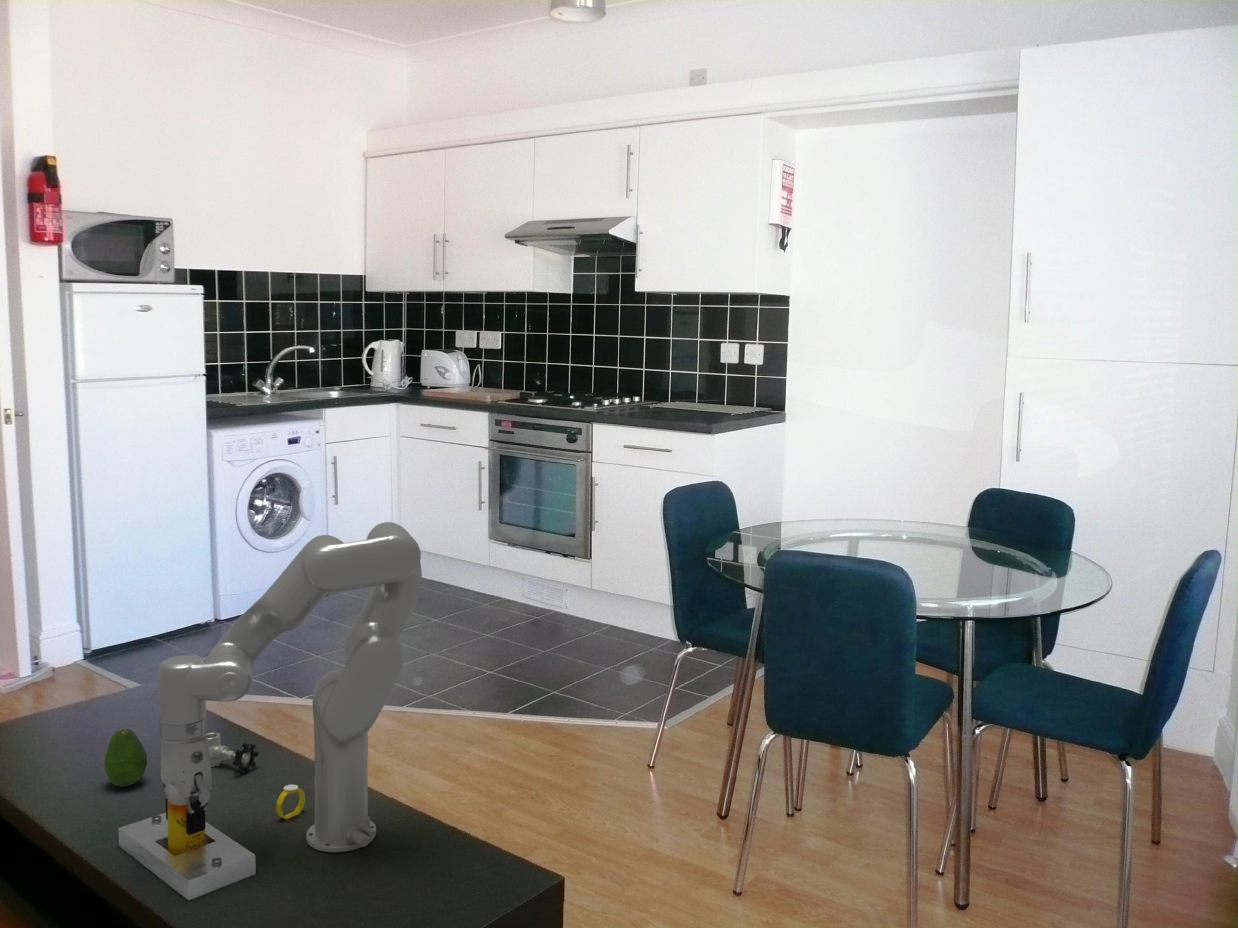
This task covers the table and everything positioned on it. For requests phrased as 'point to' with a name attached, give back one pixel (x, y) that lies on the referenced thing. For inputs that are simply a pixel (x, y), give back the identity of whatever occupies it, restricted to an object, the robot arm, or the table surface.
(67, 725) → the table surface
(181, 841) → the beer can
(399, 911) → the table surface
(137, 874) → the table surface
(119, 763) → the avocado
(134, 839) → the gray block with hole
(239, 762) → the valve
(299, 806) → the watch
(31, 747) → the table surface
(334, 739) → the robot arm
